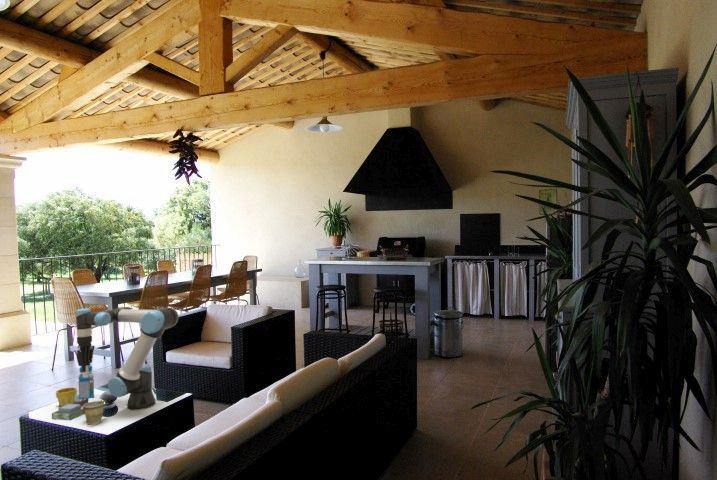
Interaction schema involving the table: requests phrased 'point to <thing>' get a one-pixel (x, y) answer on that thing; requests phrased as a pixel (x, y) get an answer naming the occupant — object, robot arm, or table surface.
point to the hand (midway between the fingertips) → (85, 377)
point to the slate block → (69, 408)
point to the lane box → (73, 415)
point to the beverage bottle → (86, 385)
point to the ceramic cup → (94, 411)
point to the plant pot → (66, 396)
